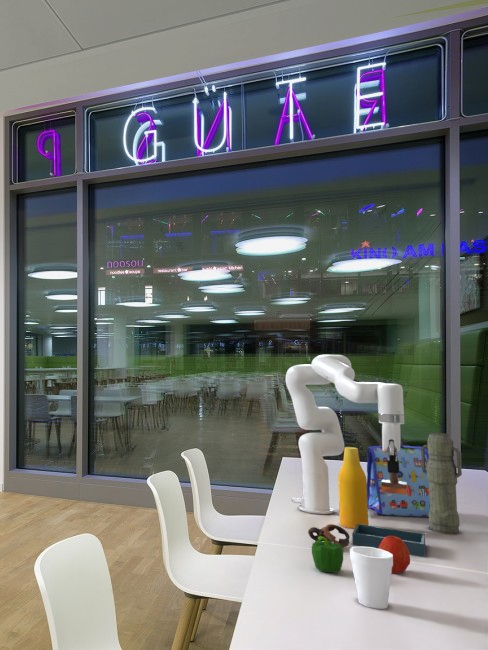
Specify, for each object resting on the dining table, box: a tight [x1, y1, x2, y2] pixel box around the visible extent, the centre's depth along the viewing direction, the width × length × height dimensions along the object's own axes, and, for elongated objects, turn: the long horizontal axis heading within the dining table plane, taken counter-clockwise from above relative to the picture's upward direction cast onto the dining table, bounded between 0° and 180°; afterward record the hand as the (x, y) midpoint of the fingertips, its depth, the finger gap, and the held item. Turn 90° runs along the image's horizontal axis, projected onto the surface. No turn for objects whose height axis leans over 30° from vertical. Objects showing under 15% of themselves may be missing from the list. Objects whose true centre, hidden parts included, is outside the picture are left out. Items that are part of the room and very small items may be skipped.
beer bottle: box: [337, 446, 370, 530], centre depth 225 cm, size 9×9×29 cm
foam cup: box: [349, 546, 393, 610], centre depth 155 cm, size 10×9×13 cm
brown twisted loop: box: [307, 523, 350, 549], centre depth 200 cm, size 12×10×8 cm
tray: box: [352, 524, 427, 558], centre depth 202 cm, size 20×14×4 cm
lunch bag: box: [366, 441, 430, 518], centre depth 244 cm, size 22×14×29 cm, turn 80°
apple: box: [378, 535, 411, 574], centre depth 178 cm, size 8×8×11 cm
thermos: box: [421, 432, 463, 535], centre depth 220 cm, size 9×12×35 cm
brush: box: [381, 473, 407, 495], centre depth 209 cm, size 7×5×12 cm
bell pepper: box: [311, 536, 344, 574], centre depth 179 cm, size 8×8×10 cm
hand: (393, 471), depth 210 cm, fingers closed on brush, 2 cm apart
